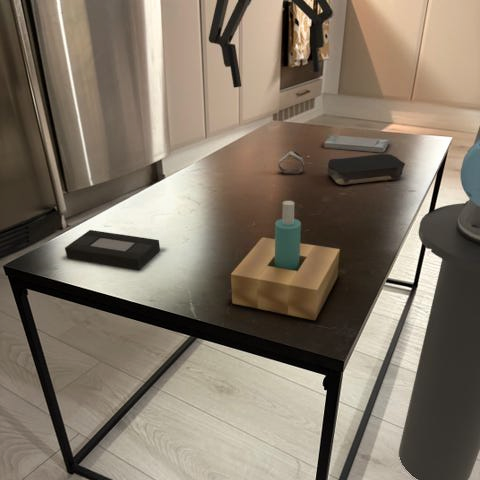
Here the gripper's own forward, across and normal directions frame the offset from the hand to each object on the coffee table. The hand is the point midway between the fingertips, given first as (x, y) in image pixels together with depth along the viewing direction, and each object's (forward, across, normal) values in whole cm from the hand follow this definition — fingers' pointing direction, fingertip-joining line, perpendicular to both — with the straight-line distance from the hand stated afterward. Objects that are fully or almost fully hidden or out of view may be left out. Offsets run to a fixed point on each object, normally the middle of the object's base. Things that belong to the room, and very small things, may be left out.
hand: (276, 79), depth 84 cm
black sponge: (+23, -12, -30) cm, 40 cm away
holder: (+29, -1, +22) cm, 37 cm away
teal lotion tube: (+29, -1, +22) cm, 37 cm away
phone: (+19, -10, -54) cm, 58 cm away
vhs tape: (+23, +30, +16) cm, 41 cm away
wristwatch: (+20, +5, -30) cm, 37 cm away
